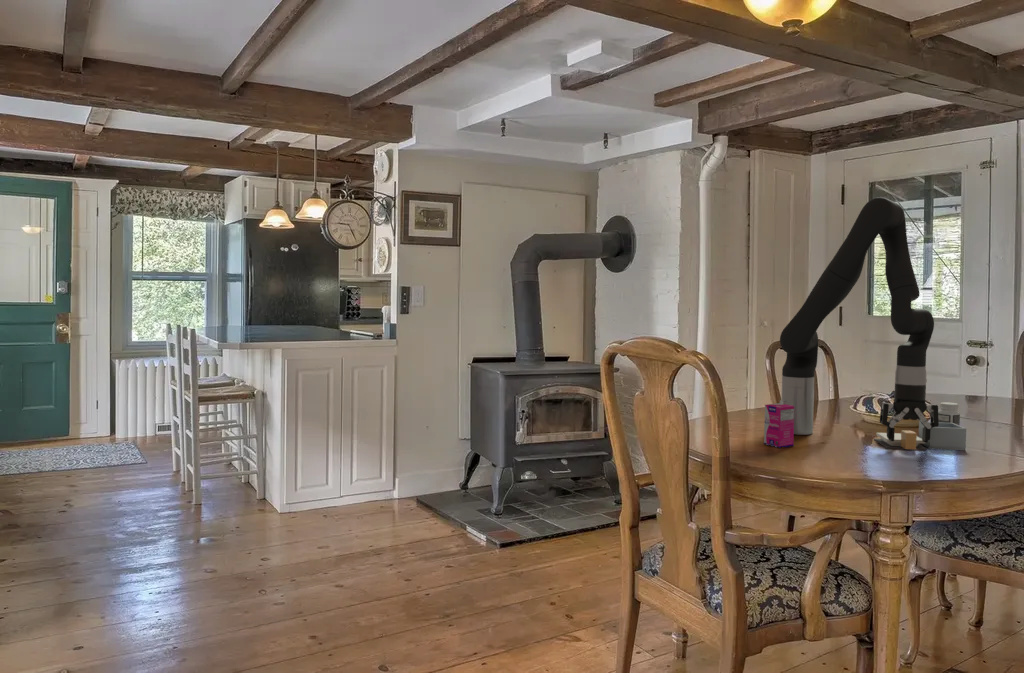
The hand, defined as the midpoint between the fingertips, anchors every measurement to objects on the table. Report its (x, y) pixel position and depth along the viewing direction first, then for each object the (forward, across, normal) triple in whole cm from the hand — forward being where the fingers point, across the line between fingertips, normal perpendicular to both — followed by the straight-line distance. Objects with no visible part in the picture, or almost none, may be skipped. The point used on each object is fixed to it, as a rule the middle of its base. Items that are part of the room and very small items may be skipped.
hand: (908, 441), depth 210 cm
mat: (+2, 0, -7) cm, 7 cm away
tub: (+2, -11, -7) cm, 13 cm away
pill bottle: (+3, -19, -24) cm, 31 cm away
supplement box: (+3, +34, +1) cm, 34 cm away
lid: (+2, 0, -5) cm, 5 cm away
